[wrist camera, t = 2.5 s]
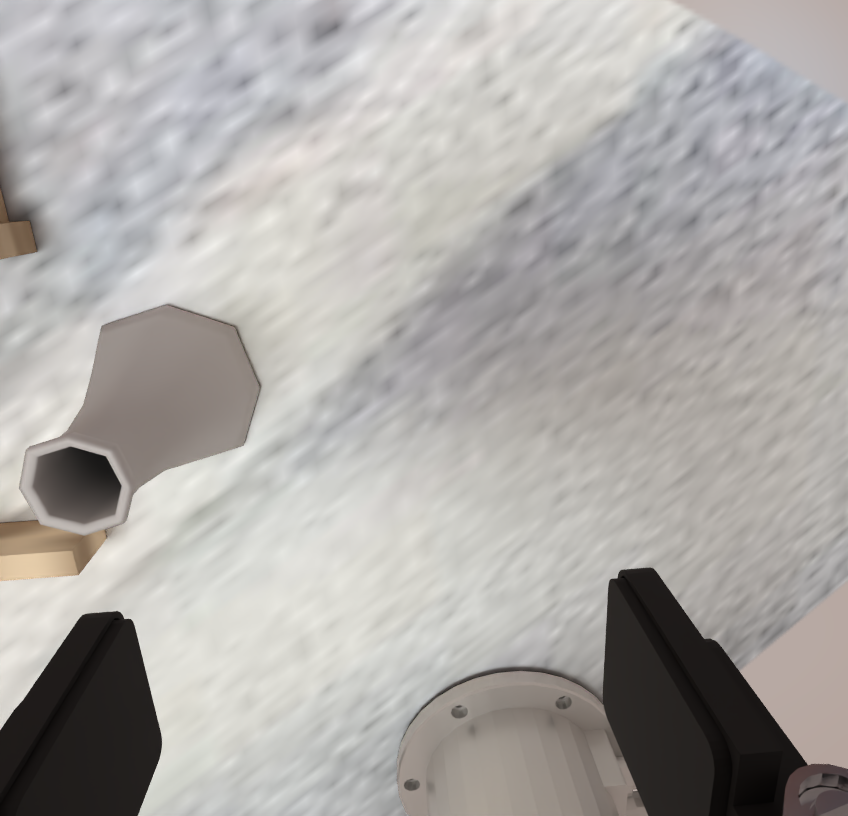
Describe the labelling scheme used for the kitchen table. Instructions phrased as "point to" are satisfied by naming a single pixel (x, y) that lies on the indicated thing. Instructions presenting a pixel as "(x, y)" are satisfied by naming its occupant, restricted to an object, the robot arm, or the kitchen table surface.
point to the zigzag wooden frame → (29, 540)
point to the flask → (142, 417)
